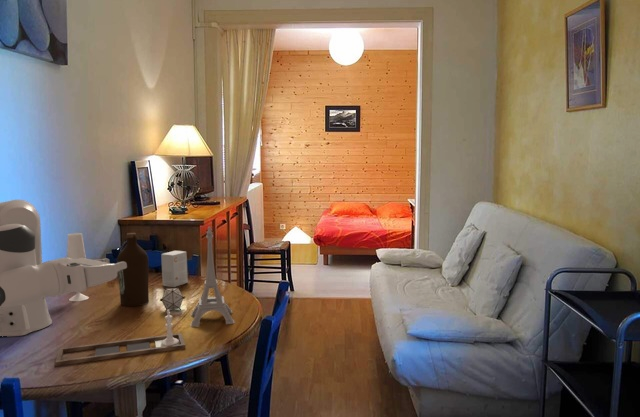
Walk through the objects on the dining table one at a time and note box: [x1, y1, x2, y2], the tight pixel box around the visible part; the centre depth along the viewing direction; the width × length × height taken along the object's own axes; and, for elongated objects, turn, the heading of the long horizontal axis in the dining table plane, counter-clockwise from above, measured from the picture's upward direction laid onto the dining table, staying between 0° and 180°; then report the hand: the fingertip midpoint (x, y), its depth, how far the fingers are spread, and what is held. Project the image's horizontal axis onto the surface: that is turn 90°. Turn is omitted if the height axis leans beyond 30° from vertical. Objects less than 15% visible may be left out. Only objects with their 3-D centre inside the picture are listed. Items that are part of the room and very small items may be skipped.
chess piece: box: [161, 310, 180, 347], centre depth 146 cm, size 5×5×10 cm
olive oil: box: [116, 232, 150, 307], centre depth 186 cm, size 11×11×25 cm
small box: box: [160, 250, 189, 288], centre depth 212 cm, size 8×6×13 cm
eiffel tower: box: [190, 226, 235, 328], centre depth 168 cm, size 13×13×30 cm
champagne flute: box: [66, 232, 90, 302], centre depth 191 cm, size 7×7×24 cm
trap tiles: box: [94, 342, 151, 356], centre depth 143 cm, size 14×7×1 cm, turn 111°
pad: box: [154, 338, 178, 348], centre depth 147 cm, size 6×7×1 cm
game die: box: [159, 285, 186, 313], centre depth 178 cm, size 9×8×10 cm
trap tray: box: [55, 332, 186, 367], centre depth 143 cm, size 32×10×1 cm, turn 111°
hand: (116, 262), depth 140 cm, fingers open, 8 cm apart
